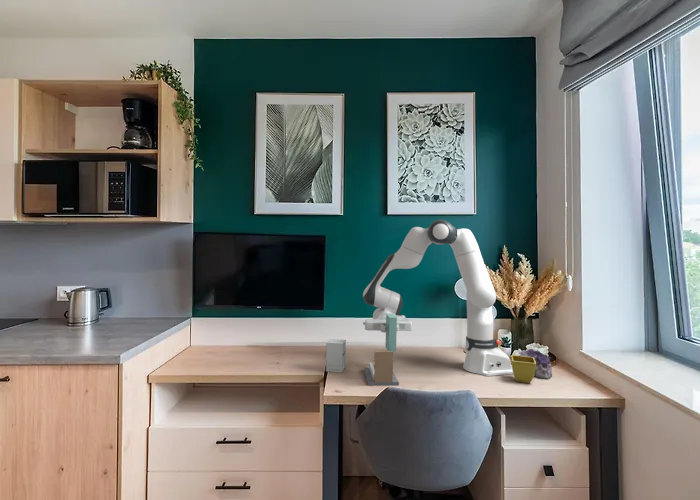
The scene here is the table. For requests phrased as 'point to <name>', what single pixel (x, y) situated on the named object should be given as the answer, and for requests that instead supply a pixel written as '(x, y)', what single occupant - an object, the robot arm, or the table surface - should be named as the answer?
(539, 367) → the geode
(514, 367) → the flower pot
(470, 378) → the table surface
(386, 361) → the track base
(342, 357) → the supplement box
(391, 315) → the teal rectangular block
